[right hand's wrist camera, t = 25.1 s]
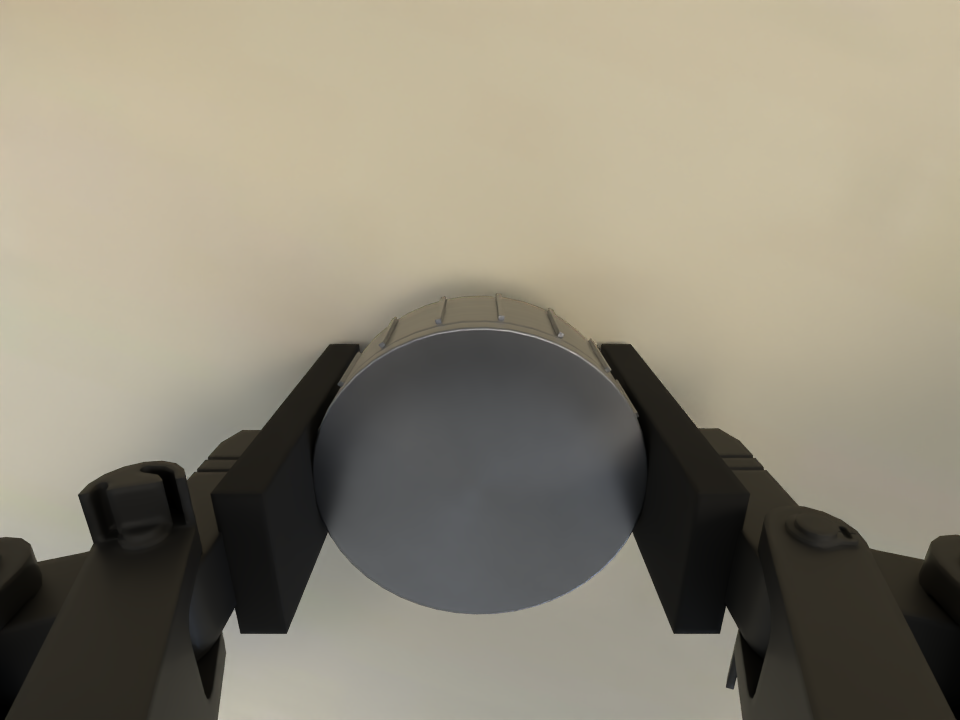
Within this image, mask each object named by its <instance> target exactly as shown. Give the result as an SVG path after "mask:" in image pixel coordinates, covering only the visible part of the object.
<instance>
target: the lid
mask: <svg viewBox="0 0 960 720" xmlns="http://www.w3.org/2000/svg"><path fill="white" fill-rule="evenodd" d="M610 371H611V368H610V367H609V365H608V364H607V362H606V360H605V359H604V357H603V355H602V354H601V352H600V351H599V349H598V347H597V346H596V344H595V343H594V341H593V340H592V339H590V340H589V341H588V340H587V339H586V338H585V337H584V336H583V335H582V334H580V333H579V332H578V331H577V330H576V329H575V328H574V327H572V326H571V325H569V324H568V323H567V322H565V321H564V320H562V319H561V318H559V317H557V316H556V315H555V313H554V311H553V310H552V309H550V308H549V309H548V310H547V311H546V310H544V309H542V308H539V307H536V306H534V305H531V304H528V303H526V302H522V301H517V300H513V299H509V298H503V297H502V296H501V294H496V297H492V296H465V297H458V298H452V299H446V297H441V299H440V301H439V302H436V303H432V304H429V305H426V306H423V307H421V308H419V309H417V310H415V311H412V312H410V313H408V314H406V315H405V316H403V317H401V318H400V319H397V318H396V317H395V318H393V319H392V320H391V322H390V324H389V326H388V327H387V328H386V329H384V330H383V331H382V332H381V333H380V334H378V335H377V336H376V337H375V338H374V340H373V341H372V342H371V343H370V344H369V345H368V346H367V347H366V348H365V350H364V351H363V352H362V353H360V352H358V353H357V354H356V356H355V357H354V359H353V360H352V362H351V364H350V365H349V367H348V368H347V370H346V372H345V373H344V375H343V377H342V378H341V380H340V381H339V383H338V386H340V387H341V388H340V389H339V391H338V393H337V394H336V396H335V398H334V400H333V401H332V403H331V404H330V406H329V408H328V410H327V412H326V414H325V416H324V419H323V421H322V423H321V425H320V426H319V428H318V431H317V434H318V435H317V438H316V441H315V445H314V453H313V460H312V474H313V483H314V490H315V497H316V503H317V506H318V509H319V512H320V515H321V518H322V521H323V523H324V525H325V527H326V529H327V531H328V532H329V534H330V536H331V538H332V539H333V541H334V542H335V544H336V545H337V546H338V548H339V549H340V551H341V552H342V553H343V554H344V555H345V556H346V558H347V559H348V560H349V561H350V562H351V563H352V564H353V565H354V566H355V567H356V568H357V569H358V570H360V571H361V572H362V573H363V574H364V575H365V576H366V577H368V578H369V579H371V580H372V581H373V582H375V583H376V584H378V585H379V586H381V587H382V588H384V589H386V590H388V591H390V592H391V593H393V594H395V595H397V596H399V597H401V598H404V599H406V600H409V601H411V602H414V603H416V604H419V605H423V606H426V607H430V608H433V609H437V610H443V611H448V612H454V613H465V614H497V613H505V612H513V611H518V610H522V609H526V608H531V607H535V606H538V605H540V604H543V603H546V602H549V601H552V600H554V599H556V598H558V597H561V596H563V595H565V594H567V593H569V592H571V591H573V590H574V589H576V588H577V587H579V586H581V585H582V584H584V583H586V582H587V581H588V580H590V579H591V578H592V577H593V576H595V575H596V574H597V573H599V572H600V571H601V570H602V569H603V568H604V567H605V566H606V565H607V564H608V563H609V562H610V561H611V560H612V559H613V558H614V557H615V556H616V554H617V553H618V552H619V551H620V549H621V548H622V547H623V545H624V544H625V543H626V541H627V540H628V538H629V536H630V534H631V533H632V531H633V529H634V528H635V526H636V523H637V521H638V518H639V516H640V513H641V511H642V508H643V504H644V500H645V493H646V485H647V477H648V456H647V449H646V445H645V440H644V436H643V432H642V430H641V427H640V425H639V422H638V419H637V417H639V415H638V412H637V411H636V409H635V408H634V406H633V404H632V403H631V401H630V400H629V398H628V396H627V395H626V393H625V391H624V390H623V388H622V387H621V385H620V383H619V382H618V380H615V379H614V378H613V376H612V374H611V373H610Z"/></svg>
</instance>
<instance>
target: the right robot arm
mask: <svg viewBox="0 0 960 720" xmlns="http://www.w3.org/2000/svg"><path fill="white" fill-rule="evenodd" d="M358 352H359V344H330V345H329V346H328V347H327V348H326V350H325V351H324V352H323V353H322V355H321V356H320V357H319V358H318V360H317V361H316V362H315V363H314V365H313V366H312V367H311V368H310V370H309V371H308V372H307V373H306V375H305V376H304V377H303V378H302V380H301V381H300V382H299V383H298V385H297V386H296V387H295V388H294V390H293V391H292V392H291V393H290V395H289V396H288V397H287V398H286V400H285V401H284V402H283V403H282V405H281V406H280V407H279V408H278V410H277V411H276V412H275V413H274V415H273V416H272V417H271V418H270V420H269V421H268V422H267V423H266V425H265V426H264V427H263V428H262V430H242V431H240V432H238V433H237V434H235V435H233V436H232V437H230V438H228V439H227V440H225V441H223V442H221V443H220V445H219V446H218V447H217V448H216V449H215V450H214V451H213V452H212V453H211V455H210V456H209V457H208V460H205V461H204V462H203V463H202V464H201V466H200V467H199V468H198V469H197V472H194V473H193V474H192V476H191V477H190V478H189V479H188V480H186V475H185V471H184V469H183V468H182V467H180V466H179V465H178V464H176V463H171V462H166V461H153V462H142V463H138V464H134V465H129V466H125V467H122V468H119V469H117V470H114V471H112V472H109V473H107V474H104V475H103V476H101V477H99V478H98V479H96V480H94V481H93V482H91V483H89V484H88V485H87V486H86V487H85V488H84V489H83V490H82V491H81V492H80V493H79V494H78V496H79V500H80V503H81V506H82V509H83V512H84V515H85V518H86V521H87V524H88V527H89V530H90V534H91V537H92V540H93V543H94V544H93V546H92V548H91V550H90V551H88V552H85V553H80V554H75V555H70V556H65V557H60V558H55V559H50V560H45V561H40V562H37V560H36V558H35V555H34V552H33V550H32V547H31V544H29V543H28V542H26V541H25V540H23V539H22V538H11V537H3V538H0V720H218V712H219V704H220V697H221V689H222V681H223V673H224V665H225V657H226V650H225V643H224V638H223V634H222V630H223V628H224V627H225V625H226V623H227V621H228V619H229V617H230V616H231V614H232V612H233V610H234V608H235V610H236V615H237V620H238V624H239V629H240V633H241V634H287V632H288V629H289V627H290V624H291V622H292V619H293V617H294V614H295V612H296V610H297V607H298V605H299V602H300V600H301V597H302V595H303V592H304V590H305V587H306V585H307V582H308V580H309V578H310V575H311V573H312V570H313V568H314V565H315V563H316V560H317V558H318V555H319V553H320V550H321V548H322V546H323V543H324V541H325V538H326V536H327V533H328V531H327V529H326V527H325V525H324V523H323V521H322V518H321V515H320V512H319V509H318V506H317V503H316V497H315V490H314V483H313V474H312V460H313V453H314V445H315V441H316V438H317V435H318V434H317V431H318V428H319V426H320V425H321V423H322V421H323V419H324V416H325V414H326V412H327V410H328V408H329V406H330V404H331V403H332V401H333V400H334V398H335V396H336V394H337V393H338V391H339V389H340V388H341V387H340V386H338V383H339V381H340V380H341V378H342V377H343V375H344V373H345V372H346V370H347V368H348V367H349V365H350V364H351V362H352V360H353V359H354V357H355V356H356V354H357V353H358ZM601 354H602V355H603V357H604V359H605V360H606V362H607V364H608V365H609V367H610V368H611V371H610V373H611V374H612V376H613V378H614V379H615V380H618V382H619V383H620V385H621V387H622V388H623V390H624V391H625V393H626V395H627V396H628V398H629V400H630V401H631V403H632V404H633V406H634V408H635V409H636V411H637V412H638V415H639V417H637V419H638V422H639V425H640V427H641V430H642V432H643V436H644V440H645V445H646V449H647V456H648V477H647V485H646V493H645V500H644V504H643V508H642V511H641V513H640V516H639V518H638V521H637V523H636V526H635V528H634V529H633V531H632V532H633V535H634V537H635V539H636V542H637V544H638V547H639V549H640V552H641V554H642V557H643V559H644V562H645V564H646V567H647V569H648V571H649V574H650V576H651V579H652V581H653V584H654V586H655V589H656V591H657V594H658V596H659V599H660V601H661V604H662V606H663V608H664V611H665V613H666V616H667V618H668V621H669V623H670V626H671V628H672V631H673V633H674V634H720V631H721V626H722V622H723V617H724V613H725V608H726V606H727V608H728V610H729V612H730V614H731V616H732V617H733V619H734V621H735V623H736V625H737V627H738V628H739V629H738V634H737V638H736V642H735V647H734V651H733V655H732V659H731V664H730V668H729V672H728V677H727V684H726V688H730V689H733V690H734V686H735V681H736V678H737V679H738V687H739V695H740V703H741V711H742V719H743V720H960V535H947V536H939V537H938V538H936V539H935V540H933V541H932V542H931V544H930V546H929V549H928V552H927V554H926V557H925V559H924V560H922V559H917V558H912V557H908V556H903V555H898V554H893V553H888V552H883V551H878V550H874V549H870V548H869V547H868V545H867V543H866V541H865V540H864V539H863V538H862V537H861V535H860V534H859V533H858V532H857V531H856V530H855V529H854V528H852V527H851V526H849V525H848V524H846V523H845V522H844V521H842V520H840V519H838V518H836V517H834V516H831V515H829V514H827V513H825V512H822V511H819V510H815V509H811V508H807V507H802V506H799V505H798V504H797V503H796V502H795V501H794V500H793V499H792V498H791V497H790V496H789V494H788V493H787V492H786V491H785V490H784V489H783V488H782V487H781V486H780V485H779V484H778V482H777V481H776V480H775V479H774V478H773V477H772V476H771V475H770V474H769V473H768V471H767V470H764V467H763V466H762V465H761V464H760V463H759V462H758V460H757V459H756V458H753V455H752V454H751V453H750V452H749V451H748V450H747V448H746V447H745V446H744V445H743V444H742V443H741V442H740V441H739V440H737V439H736V438H734V437H732V436H730V435H729V434H727V433H725V432H724V431H722V430H720V429H698V428H697V427H696V425H695V424H694V423H693V422H692V420H691V419H690V418H689V417H688V415H687V414H686V413H685V412H684V410H683V409H682V408H681V407H680V405H679V404H678V403H677V402H676V400H675V399H674V398H673V397H672V395H671V394H670V393H669V392H668V390H667V389H666V388H665V387H664V385H663V384H662V383H661V382H660V380H659V379H658V378H657V377H656V375H655V374H654V373H653V372H652V370H651V369H650V368H649V367H648V365H647V364H646V363H645V362H644V360H643V359H642V358H641V357H640V355H639V354H638V353H637V352H636V350H635V349H634V348H633V347H632V345H631V344H602V346H601Z"/></svg>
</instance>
